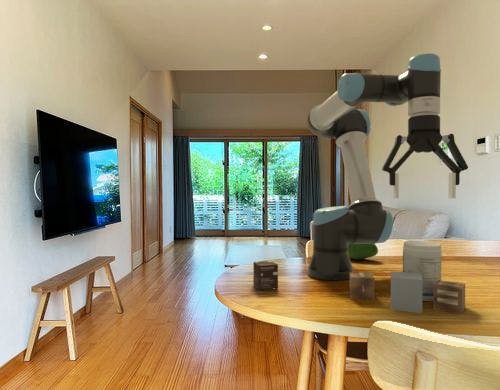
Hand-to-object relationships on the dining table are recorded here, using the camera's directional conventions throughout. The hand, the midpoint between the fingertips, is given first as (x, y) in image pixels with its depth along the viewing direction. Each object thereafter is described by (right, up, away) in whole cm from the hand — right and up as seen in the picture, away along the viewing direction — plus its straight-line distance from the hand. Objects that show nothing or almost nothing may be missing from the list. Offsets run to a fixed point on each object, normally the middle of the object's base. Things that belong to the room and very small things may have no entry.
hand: (423, 198), depth 95 cm
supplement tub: (+2, -27, +5) cm, 27 cm away
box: (-41, -27, +15) cm, 51 cm away
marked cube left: (-15, -27, +4) cm, 31 cm away
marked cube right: (+4, -27, -5) cm, 28 cm away
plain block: (-6, -27, -4) cm, 28 cm away
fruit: (+1, -26, +58) cm, 64 cm away
